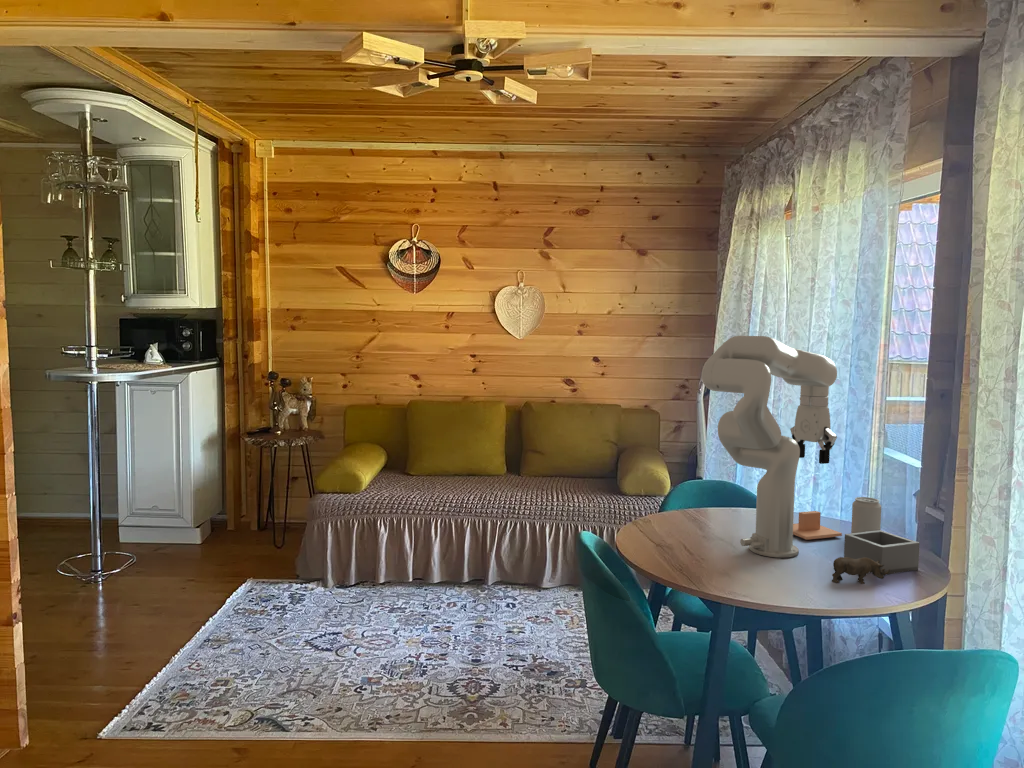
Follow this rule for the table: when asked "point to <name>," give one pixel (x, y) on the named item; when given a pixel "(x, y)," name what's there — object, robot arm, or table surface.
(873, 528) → the can
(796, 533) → the lid
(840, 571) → the rhino figurine
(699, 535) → the table surface
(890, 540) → the tub
